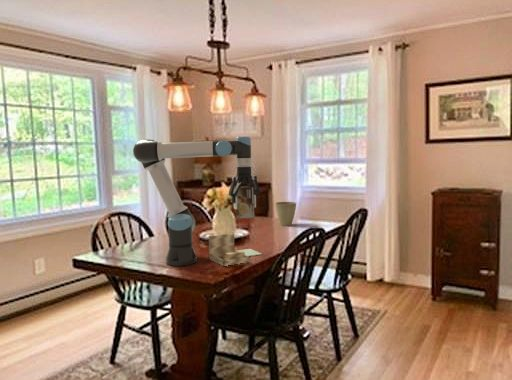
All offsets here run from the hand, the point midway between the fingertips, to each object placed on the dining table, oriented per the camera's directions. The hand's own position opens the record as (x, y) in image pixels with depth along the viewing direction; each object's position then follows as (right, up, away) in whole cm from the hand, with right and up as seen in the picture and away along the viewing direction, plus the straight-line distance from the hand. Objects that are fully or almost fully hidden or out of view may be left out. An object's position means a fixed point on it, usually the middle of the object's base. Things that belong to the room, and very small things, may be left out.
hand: (244, 208), depth 232 cm
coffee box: (0, -5, 0) cm, 5 cm away
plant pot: (+27, -16, +82) cm, 88 cm away
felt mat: (0, -24, +3) cm, 25 cm away
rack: (-8, -26, -11) cm, 29 cm away
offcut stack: (-5, -27, -16) cm, 32 cm away
